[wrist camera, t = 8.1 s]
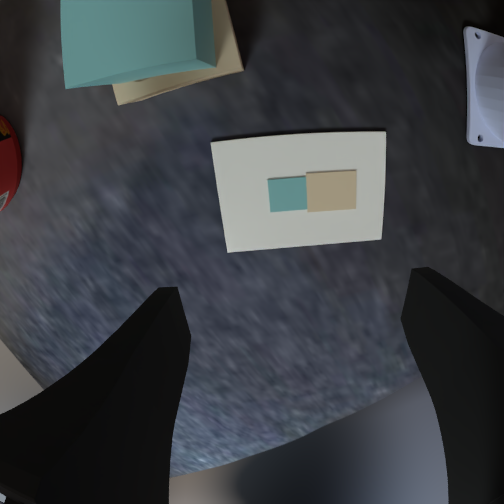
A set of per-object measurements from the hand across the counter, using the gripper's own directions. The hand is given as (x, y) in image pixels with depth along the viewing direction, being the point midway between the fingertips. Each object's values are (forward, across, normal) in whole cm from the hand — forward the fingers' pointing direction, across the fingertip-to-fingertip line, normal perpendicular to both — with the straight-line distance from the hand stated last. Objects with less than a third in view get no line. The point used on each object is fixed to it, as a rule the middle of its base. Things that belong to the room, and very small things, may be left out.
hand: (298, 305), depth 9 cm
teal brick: (+7, +5, -10) cm, 13 cm away
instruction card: (+10, -2, 0) cm, 11 cm away
